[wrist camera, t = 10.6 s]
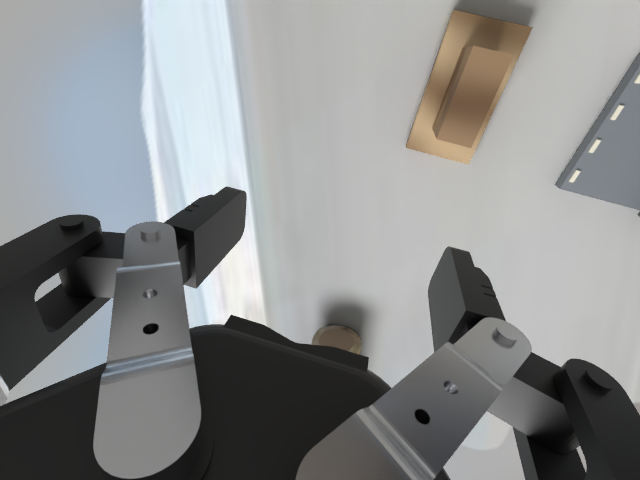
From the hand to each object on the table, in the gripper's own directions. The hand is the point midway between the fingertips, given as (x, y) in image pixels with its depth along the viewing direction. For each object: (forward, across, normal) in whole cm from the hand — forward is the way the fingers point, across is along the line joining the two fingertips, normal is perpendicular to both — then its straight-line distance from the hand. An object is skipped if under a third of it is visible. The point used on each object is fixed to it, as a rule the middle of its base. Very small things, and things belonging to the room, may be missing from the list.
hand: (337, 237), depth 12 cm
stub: (+25, -7, -4) cm, 27 cm away
